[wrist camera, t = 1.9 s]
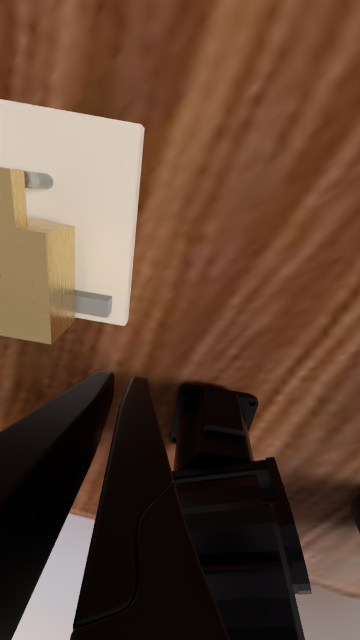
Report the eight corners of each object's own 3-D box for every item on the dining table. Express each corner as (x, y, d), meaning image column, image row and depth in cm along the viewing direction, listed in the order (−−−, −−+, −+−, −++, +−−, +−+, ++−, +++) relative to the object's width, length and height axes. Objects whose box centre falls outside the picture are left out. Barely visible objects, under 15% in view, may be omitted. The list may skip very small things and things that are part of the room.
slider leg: (81, 314, 19) (51, 344, 15) (23, 304, 19) (-21, 331, 15) (81, 179, 15) (42, 174, 11) (10, 167, 15) (-51, 158, 11)
